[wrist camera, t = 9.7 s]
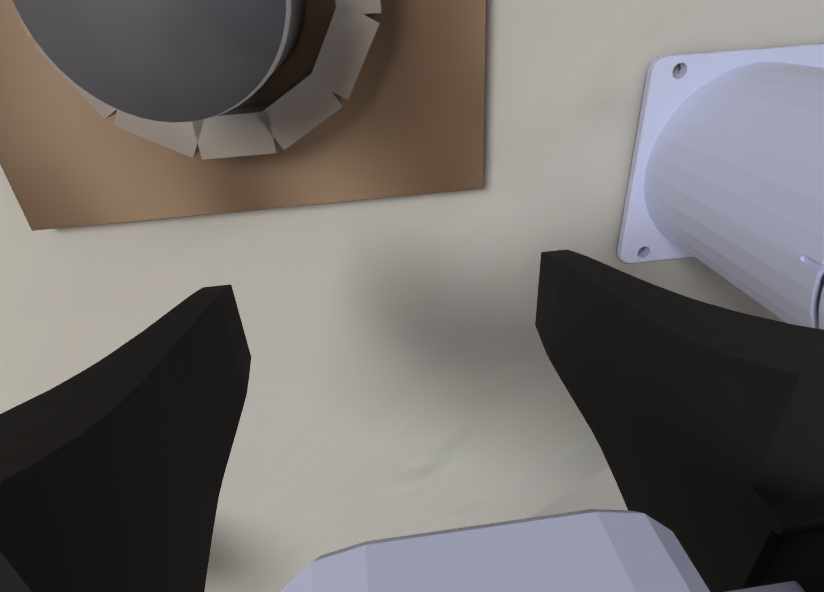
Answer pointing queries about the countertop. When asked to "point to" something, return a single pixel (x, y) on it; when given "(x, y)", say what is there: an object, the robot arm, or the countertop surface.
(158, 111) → the lens
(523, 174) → the countertop surface
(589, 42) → the countertop surface
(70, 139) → the mount board
